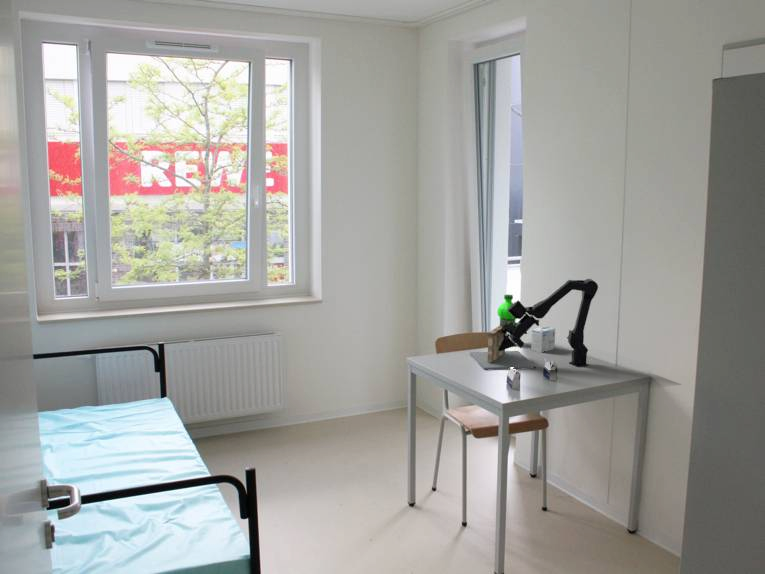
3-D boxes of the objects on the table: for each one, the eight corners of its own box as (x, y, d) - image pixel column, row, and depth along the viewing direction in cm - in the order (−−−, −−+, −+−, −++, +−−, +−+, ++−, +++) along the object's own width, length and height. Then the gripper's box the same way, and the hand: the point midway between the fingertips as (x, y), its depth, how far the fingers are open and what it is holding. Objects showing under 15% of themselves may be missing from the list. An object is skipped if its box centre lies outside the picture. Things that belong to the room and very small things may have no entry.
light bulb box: (543, 346, 343) (544, 325, 341) (555, 349, 337) (556, 328, 336) (530, 350, 336) (531, 328, 334) (541, 353, 331) (542, 331, 329)
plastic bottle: (492, 342, 349) (494, 295, 345) (506, 339, 356) (508, 292, 351) (506, 347, 341) (508, 298, 337) (521, 343, 348) (523, 295, 343)
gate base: (517, 352, 331) (519, 320, 328) (536, 368, 305) (537, 333, 302) (469, 354, 328) (470, 321, 325) (483, 369, 302) (485, 334, 300)
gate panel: (498, 353, 324) (499, 325, 322) (503, 353, 323) (504, 326, 321) (486, 361, 310) (487, 333, 307) (492, 362, 308) (493, 333, 306)
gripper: (505, 310, 318) (481, 333, 318) (517, 318, 300) (492, 343, 300) (521, 325, 320) (497, 349, 321) (534, 335, 302) (509, 360, 303)
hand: (498, 350), depth 311 cm, fingers closed
